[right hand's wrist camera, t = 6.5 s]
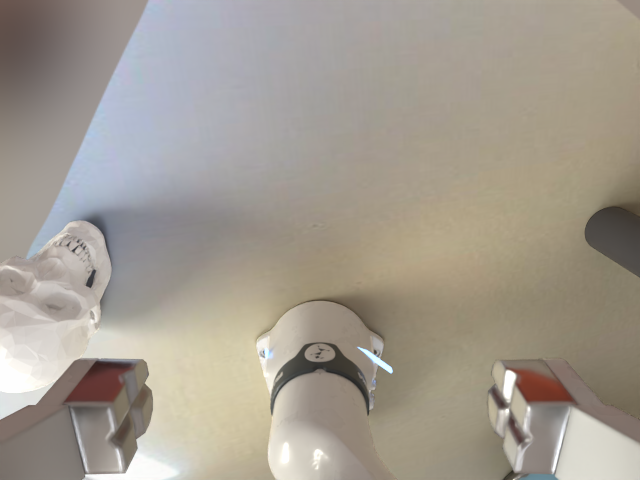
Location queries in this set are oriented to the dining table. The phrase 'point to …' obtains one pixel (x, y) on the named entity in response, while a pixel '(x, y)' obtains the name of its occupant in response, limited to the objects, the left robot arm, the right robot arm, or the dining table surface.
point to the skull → (50, 307)
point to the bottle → (616, 236)
